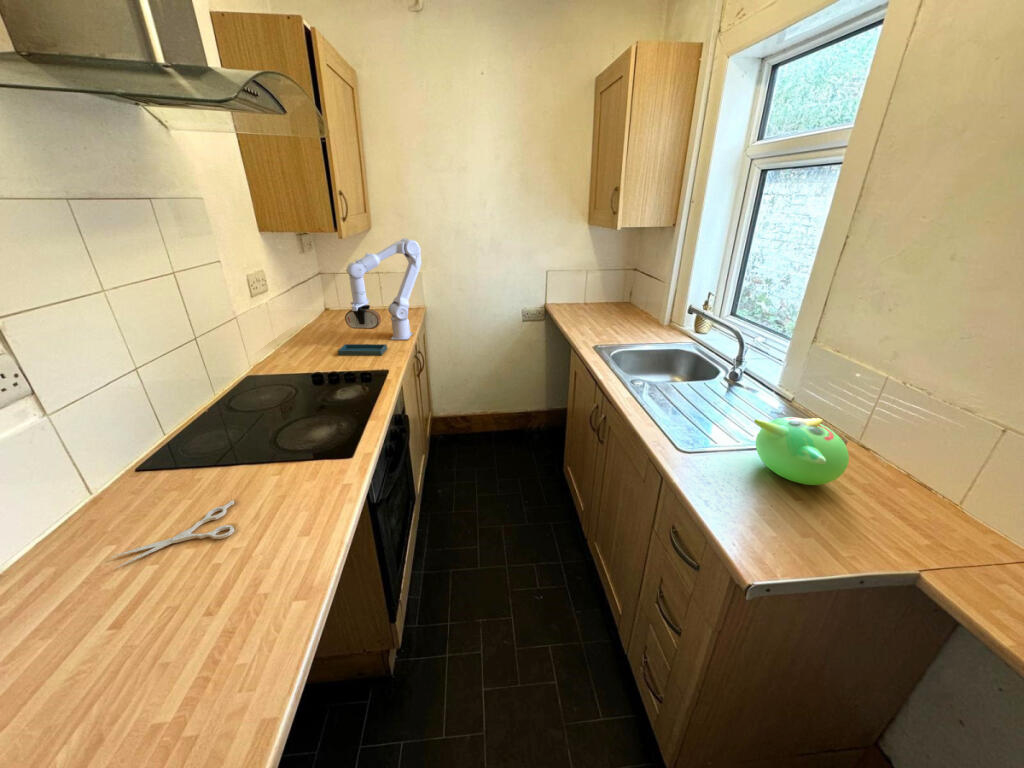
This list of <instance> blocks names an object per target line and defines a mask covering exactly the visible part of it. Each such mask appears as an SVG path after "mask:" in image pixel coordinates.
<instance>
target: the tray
mask: <svg viewBox="0 0 1024 768" xmlns="http://www.w3.org/2000/svg"><path fill="white" fill-rule="evenodd" d="M387 350H388V344H378V343H377V344H376V343H374V344H373V343H369V344H367V343H364V344H363V343H345V344H343V345H342V346H341V347H340V348H339V349H337V355H338V356H364V357H365V356H366V357H367V356H373V357H374V356H375V357H378V356H379V357H380V356H381V357H382V355H383V354H384V353H385V352H386V351H387Z"/></svg>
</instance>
